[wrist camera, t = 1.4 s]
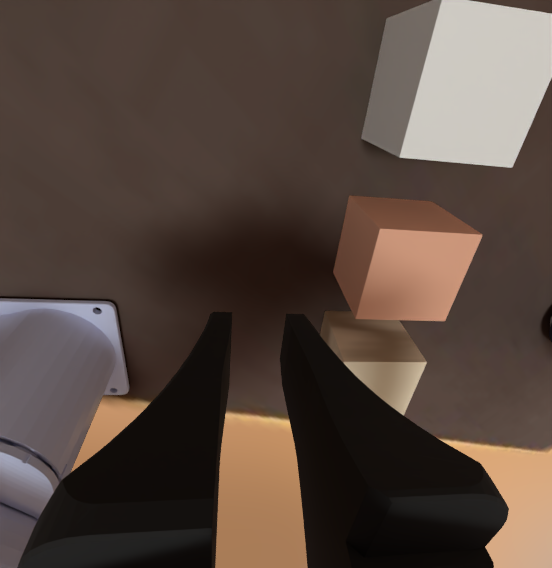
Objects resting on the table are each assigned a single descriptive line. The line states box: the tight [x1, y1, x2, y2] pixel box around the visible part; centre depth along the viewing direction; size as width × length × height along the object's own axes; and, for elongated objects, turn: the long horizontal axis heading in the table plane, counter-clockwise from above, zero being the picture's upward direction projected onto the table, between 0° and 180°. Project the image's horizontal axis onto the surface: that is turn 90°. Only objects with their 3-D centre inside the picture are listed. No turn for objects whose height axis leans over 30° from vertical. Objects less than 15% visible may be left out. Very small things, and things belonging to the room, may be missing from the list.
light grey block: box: [361, 0, 552, 168], centre depth 15 cm, size 5×5×5 cm
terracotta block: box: [333, 195, 483, 321], centre depth 19 cm, size 5×5×5 cm
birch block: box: [320, 311, 427, 416], centre depth 23 cm, size 5×5×5 cm
